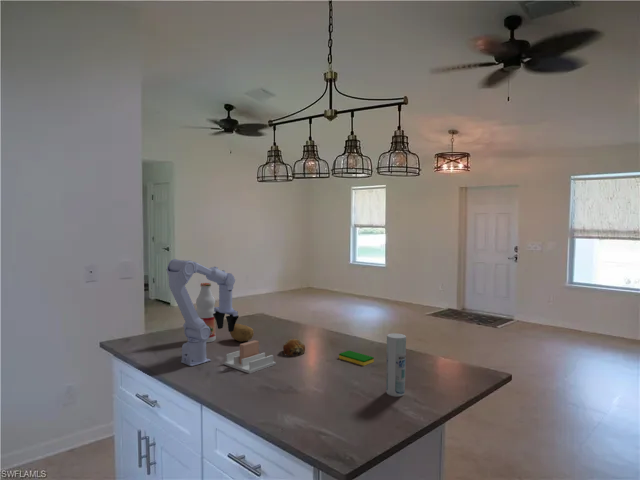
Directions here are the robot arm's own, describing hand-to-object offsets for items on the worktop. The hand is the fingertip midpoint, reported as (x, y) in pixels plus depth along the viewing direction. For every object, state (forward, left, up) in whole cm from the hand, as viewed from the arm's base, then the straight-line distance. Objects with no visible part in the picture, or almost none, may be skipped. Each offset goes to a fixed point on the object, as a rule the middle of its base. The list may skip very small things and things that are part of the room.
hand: (225, 329), depth 195 cm
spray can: (+10, -81, -10) cm, 82 cm away
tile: (-4, -21, -9) cm, 23 cm away
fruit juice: (+5, +22, -10) cm, 25 cm away
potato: (+16, +8, -10) cm, 21 cm away
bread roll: (+19, -24, -10) cm, 32 cm away
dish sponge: (+30, -50, -11) cm, 59 cm away
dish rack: (-4, -21, -10) cm, 24 cm away
